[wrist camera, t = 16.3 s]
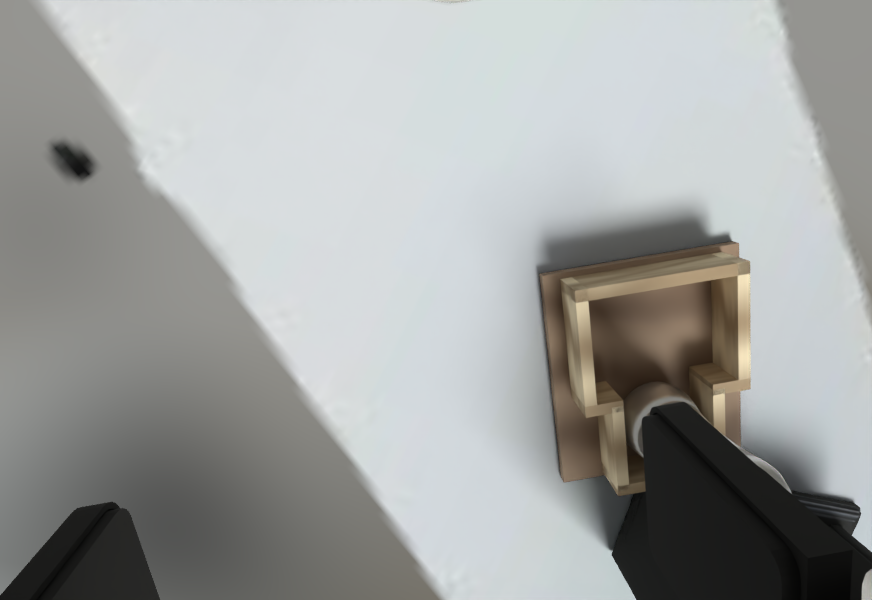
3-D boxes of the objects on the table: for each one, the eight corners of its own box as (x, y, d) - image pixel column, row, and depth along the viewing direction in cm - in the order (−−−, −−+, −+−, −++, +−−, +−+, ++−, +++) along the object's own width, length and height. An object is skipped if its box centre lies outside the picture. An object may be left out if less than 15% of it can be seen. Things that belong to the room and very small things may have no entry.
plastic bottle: (601, 433, 52) (722, 601, 33) (625, 366, 51) (767, 502, 32) (665, 447, 53) (819, 618, 34) (691, 381, 52) (868, 522, 33)
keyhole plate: (539, 273, 49) (555, 287, 44) (732, 241, 50) (768, 251, 45) (560, 476, 55) (577, 508, 50) (734, 445, 55) (767, 474, 50)
